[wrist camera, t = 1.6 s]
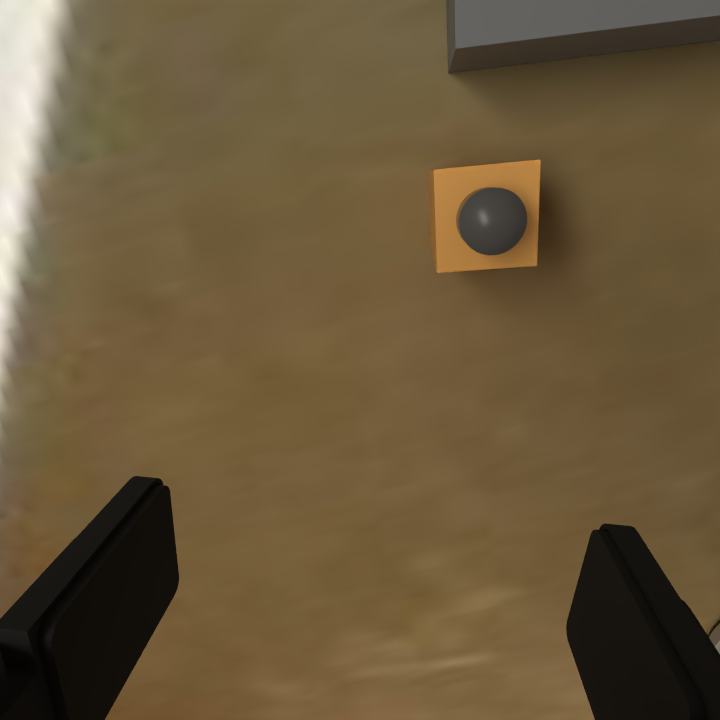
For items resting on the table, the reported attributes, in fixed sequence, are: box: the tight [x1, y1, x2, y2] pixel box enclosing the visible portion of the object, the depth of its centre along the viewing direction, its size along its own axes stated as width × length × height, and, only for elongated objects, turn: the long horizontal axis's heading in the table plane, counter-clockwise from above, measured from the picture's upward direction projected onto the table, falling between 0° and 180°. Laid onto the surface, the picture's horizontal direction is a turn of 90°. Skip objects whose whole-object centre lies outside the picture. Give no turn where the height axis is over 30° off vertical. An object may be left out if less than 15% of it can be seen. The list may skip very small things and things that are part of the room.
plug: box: [429, 160, 541, 273], centre depth 24 cm, size 4×4×9 cm
